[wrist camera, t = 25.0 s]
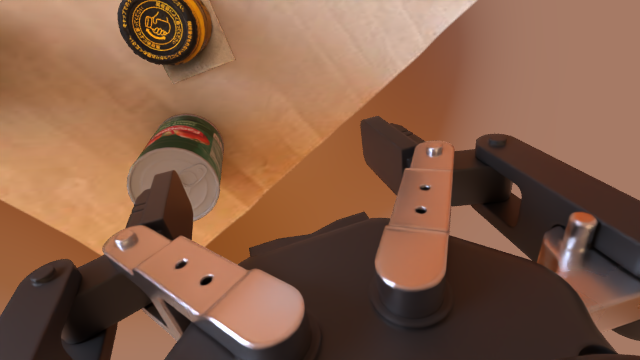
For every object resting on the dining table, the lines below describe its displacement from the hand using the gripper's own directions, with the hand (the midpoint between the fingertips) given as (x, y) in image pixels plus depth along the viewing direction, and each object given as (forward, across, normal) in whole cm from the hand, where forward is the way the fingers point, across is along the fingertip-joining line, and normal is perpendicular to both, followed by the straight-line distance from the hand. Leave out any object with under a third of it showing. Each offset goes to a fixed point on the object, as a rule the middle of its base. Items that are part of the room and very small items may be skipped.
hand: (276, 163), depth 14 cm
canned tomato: (+27, +8, +8) cm, 29 cm away
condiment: (+27, +4, -4) cm, 28 cm away
